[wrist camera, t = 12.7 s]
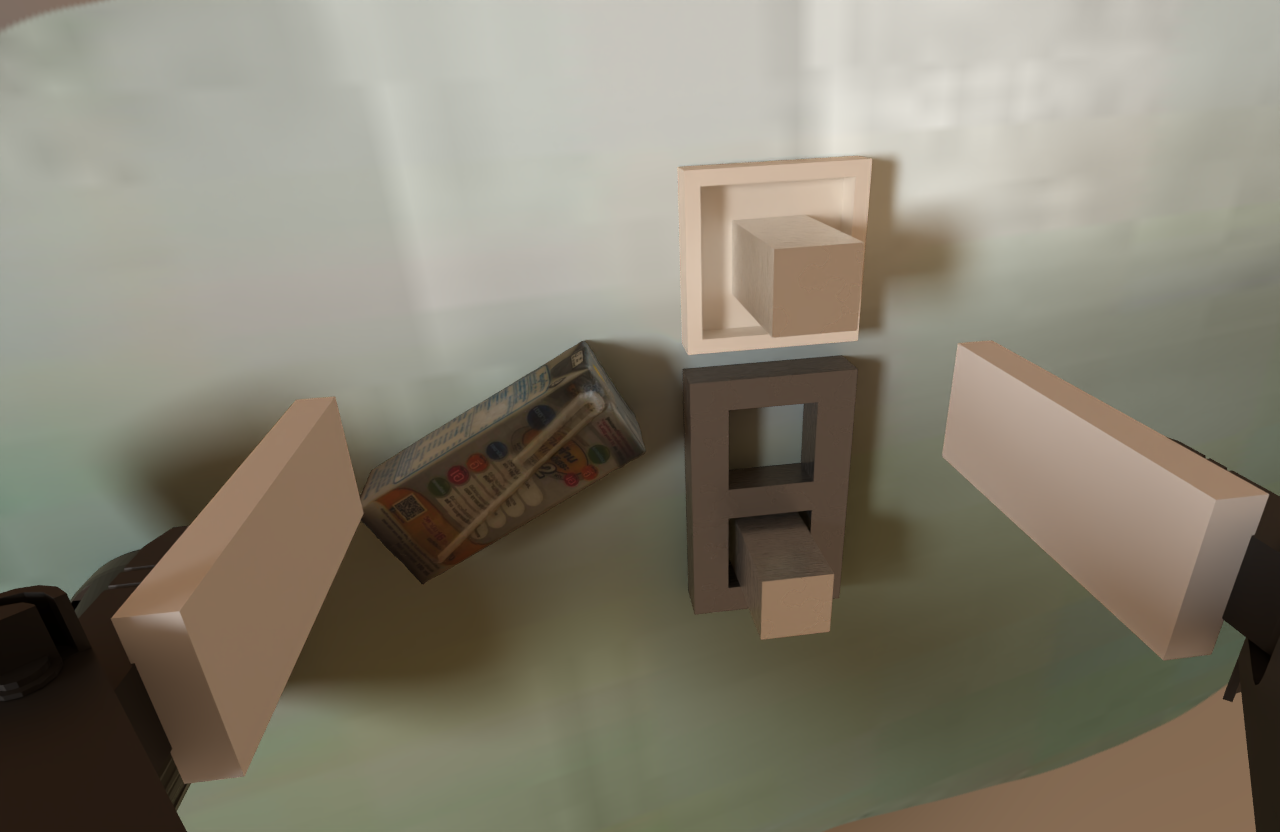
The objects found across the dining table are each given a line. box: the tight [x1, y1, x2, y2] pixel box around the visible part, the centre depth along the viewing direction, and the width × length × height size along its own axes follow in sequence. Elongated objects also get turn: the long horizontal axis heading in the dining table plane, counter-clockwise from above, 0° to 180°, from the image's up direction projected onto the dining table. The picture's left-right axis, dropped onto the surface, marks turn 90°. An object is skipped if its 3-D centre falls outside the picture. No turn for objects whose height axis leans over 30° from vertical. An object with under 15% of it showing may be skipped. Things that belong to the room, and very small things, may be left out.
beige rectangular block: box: [729, 512, 834, 640], centre depth 54 cm, size 5×5×10 cm
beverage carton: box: [360, 341, 646, 584], centre depth 50 cm, size 8×19×7 cm, turn 121°
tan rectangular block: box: [732, 215, 864, 338], centre depth 44 cm, size 5×5×10 cm
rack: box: [683, 356, 858, 614], centre depth 55 cm, size 12×20×3 cm, turn 3°
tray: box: [677, 156, 872, 355], centre depth 48 cm, size 12×12×3 cm
